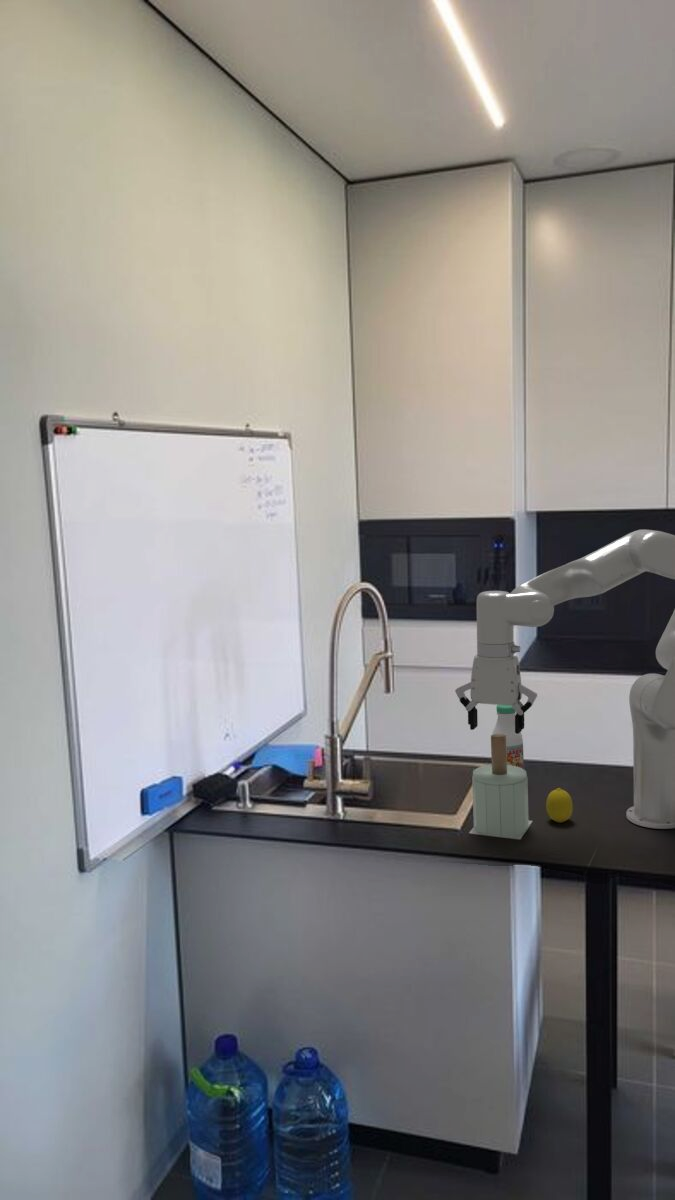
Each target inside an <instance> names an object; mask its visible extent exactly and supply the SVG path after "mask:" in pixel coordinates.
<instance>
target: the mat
mask: <svg viewBox="0 0 675 1200" xmlns="http://www.w3.org/2000/svg"><path fill="white" fill-rule="evenodd" d="M532 823H533V820H529V827H530V826H531V824H532ZM468 834H472V835H479V836H485V837H486V836H487V835H484V834H482V833H479V832H477V831H476V829H475V828H474V826H473V827H472V829H470V830H469V832H468ZM524 835H525V833H522V834H520V835H517V836H510V837H502V838H505V839H513V840H522V838H523V836H524ZM487 837H488V836H487Z"/></svg>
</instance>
